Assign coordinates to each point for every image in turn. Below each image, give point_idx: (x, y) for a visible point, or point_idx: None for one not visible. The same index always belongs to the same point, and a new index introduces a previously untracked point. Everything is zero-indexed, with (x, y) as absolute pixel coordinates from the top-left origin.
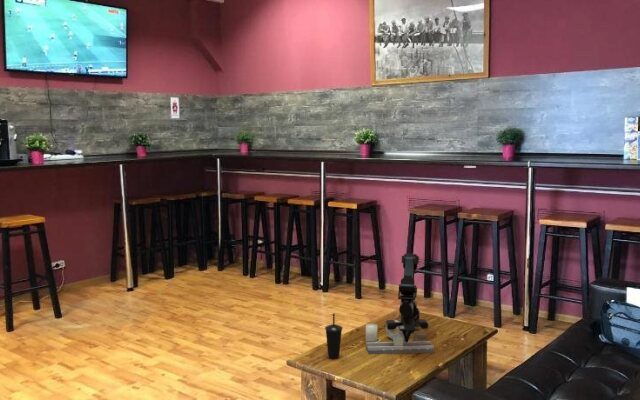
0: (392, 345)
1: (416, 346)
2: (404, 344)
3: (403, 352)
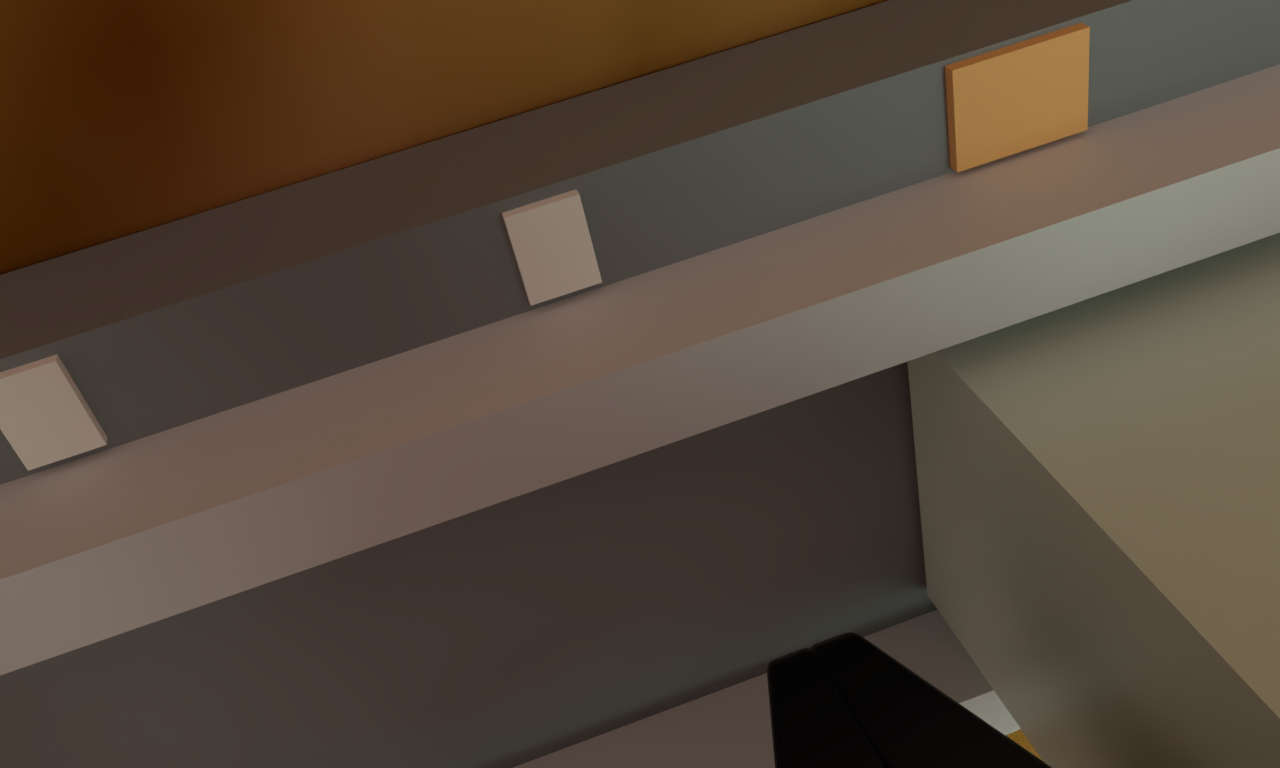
0: None
1: (189, 510)
2: None
3: (841, 29)
